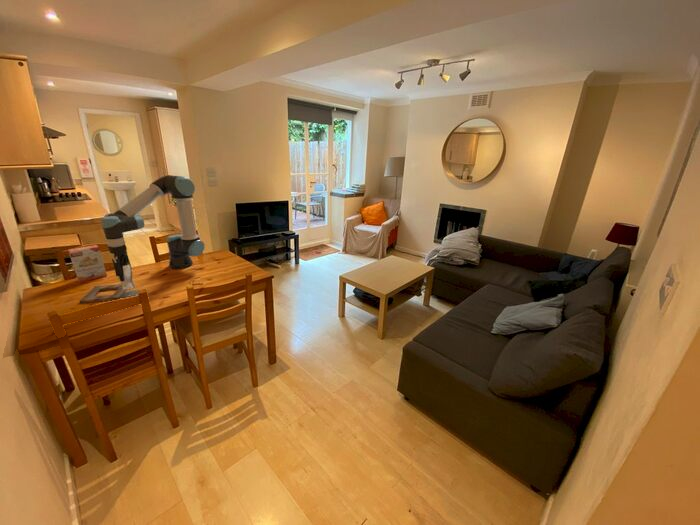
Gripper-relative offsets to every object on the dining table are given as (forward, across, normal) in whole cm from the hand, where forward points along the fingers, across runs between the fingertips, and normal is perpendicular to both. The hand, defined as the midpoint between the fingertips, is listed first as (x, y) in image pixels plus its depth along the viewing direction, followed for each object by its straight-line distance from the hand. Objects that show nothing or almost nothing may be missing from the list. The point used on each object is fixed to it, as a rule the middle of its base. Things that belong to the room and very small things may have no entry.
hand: (127, 282), depth 164 cm
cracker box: (+9, -32, -31) cm, 45 cm away
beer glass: (+4, 0, 0) cm, 4 cm away
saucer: (+9, 0, 0) cm, 9 cm away
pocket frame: (+9, -6, -14) cm, 18 cm away
